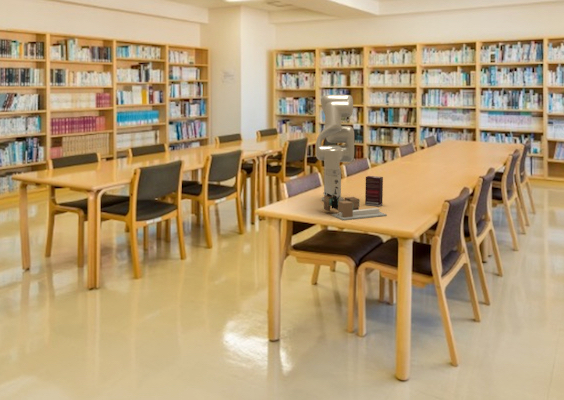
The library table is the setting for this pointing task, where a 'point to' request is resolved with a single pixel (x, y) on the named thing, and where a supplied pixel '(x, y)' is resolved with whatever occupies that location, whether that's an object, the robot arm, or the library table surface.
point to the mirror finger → (354, 201)
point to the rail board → (355, 212)
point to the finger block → (328, 202)
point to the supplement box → (374, 191)
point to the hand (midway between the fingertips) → (331, 206)
